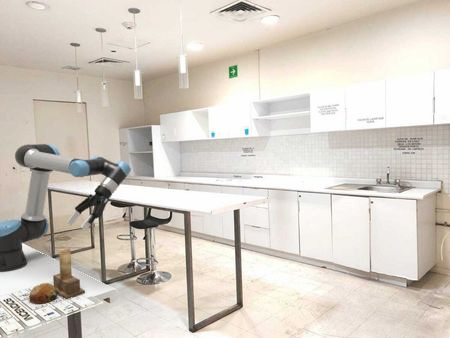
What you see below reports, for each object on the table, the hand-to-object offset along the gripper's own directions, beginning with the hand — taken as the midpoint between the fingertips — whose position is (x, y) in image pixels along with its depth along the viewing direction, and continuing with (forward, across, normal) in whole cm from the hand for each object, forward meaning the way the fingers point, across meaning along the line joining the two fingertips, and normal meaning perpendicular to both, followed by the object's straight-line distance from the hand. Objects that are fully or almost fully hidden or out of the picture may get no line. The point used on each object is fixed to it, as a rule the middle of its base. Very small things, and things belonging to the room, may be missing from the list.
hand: (75, 226), depth 153 cm
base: (+23, -4, -14) cm, 27 cm away
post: (+19, -4, -10) cm, 22 cm away
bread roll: (+30, -4, -8) cm, 31 cm away
